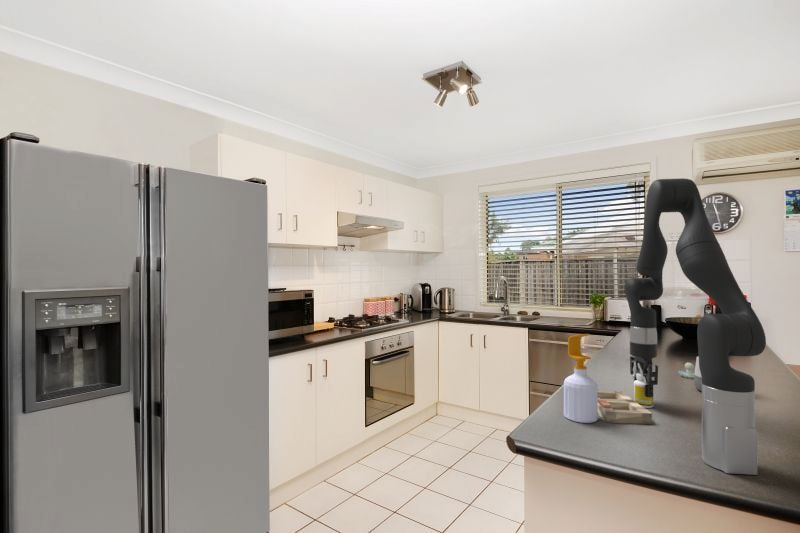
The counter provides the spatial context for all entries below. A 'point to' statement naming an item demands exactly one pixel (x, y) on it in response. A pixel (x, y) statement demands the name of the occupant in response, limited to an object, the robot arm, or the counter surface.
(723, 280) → the robot arm
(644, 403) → the supplement bottle
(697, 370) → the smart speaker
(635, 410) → the socket block
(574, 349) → the soap bottle
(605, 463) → the counter surface
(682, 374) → the pacifier
